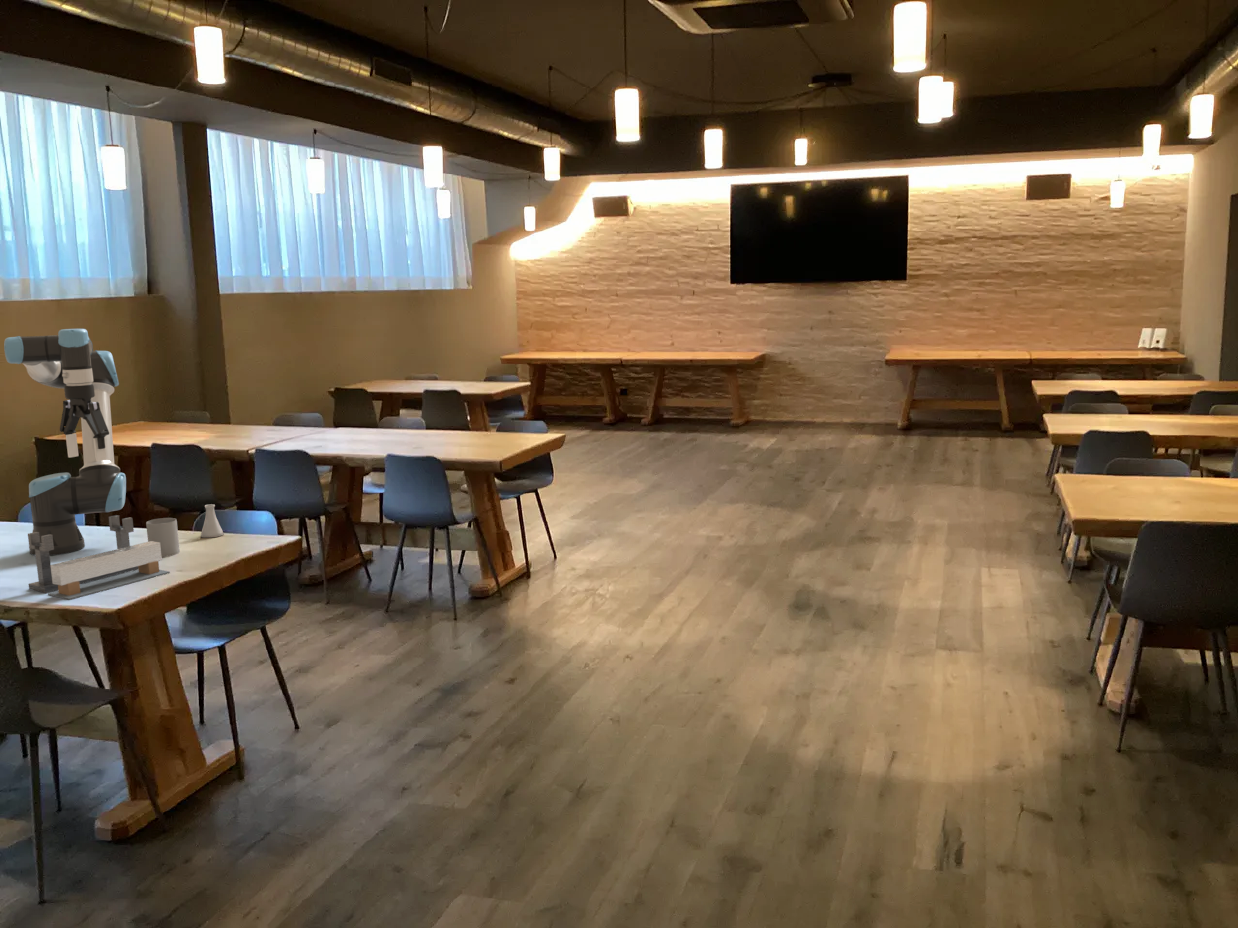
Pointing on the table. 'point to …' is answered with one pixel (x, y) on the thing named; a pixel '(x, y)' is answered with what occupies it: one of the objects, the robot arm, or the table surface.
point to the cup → (164, 535)
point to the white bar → (105, 563)
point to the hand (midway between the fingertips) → (87, 458)
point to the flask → (211, 523)
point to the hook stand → (47, 545)
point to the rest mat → (108, 582)
